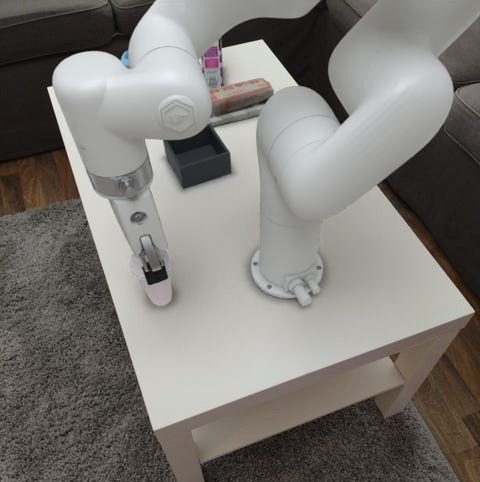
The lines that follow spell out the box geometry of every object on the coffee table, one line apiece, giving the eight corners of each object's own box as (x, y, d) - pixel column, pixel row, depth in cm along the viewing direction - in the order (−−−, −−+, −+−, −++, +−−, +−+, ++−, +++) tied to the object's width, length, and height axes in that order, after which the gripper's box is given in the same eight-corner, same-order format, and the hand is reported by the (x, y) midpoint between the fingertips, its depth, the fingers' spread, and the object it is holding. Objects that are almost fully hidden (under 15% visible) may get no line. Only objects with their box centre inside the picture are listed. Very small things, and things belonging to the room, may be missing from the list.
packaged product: (207, 109, 96) (193, 85, 101) (209, 129, 100) (196, 105, 105) (283, 89, 98) (266, 68, 103) (282, 110, 102) (265, 88, 108)
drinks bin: (231, 173, 91) (230, 152, 87) (183, 189, 89) (179, 168, 85) (212, 144, 97) (210, 123, 92) (166, 158, 95) (162, 137, 90)
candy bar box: (225, 93, 107) (219, 18, 93) (204, 95, 107) (196, 20, 93) (223, 68, 113) (218, -6, 99) (203, 70, 113) (196, -4, 99)
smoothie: (183, 283, 77) (169, 226, 65) (176, 313, 73) (160, 260, 62) (147, 281, 77) (127, 224, 65) (139, 311, 74) (116, 257, 62)
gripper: (173, 205, 49) (193, 297, 64) (129, 121, 58) (156, 219, 73) (108, 227, 48) (144, 315, 63) (73, 137, 56) (112, 234, 71)
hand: (150, 263), depth 68 cm, fingers closed on smoothie, 6 cm apart
